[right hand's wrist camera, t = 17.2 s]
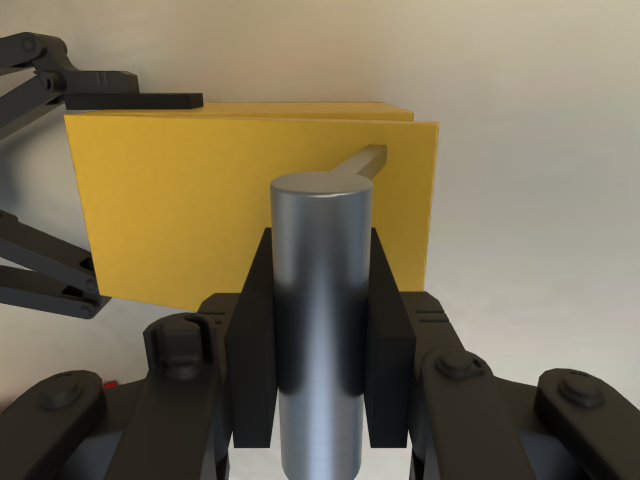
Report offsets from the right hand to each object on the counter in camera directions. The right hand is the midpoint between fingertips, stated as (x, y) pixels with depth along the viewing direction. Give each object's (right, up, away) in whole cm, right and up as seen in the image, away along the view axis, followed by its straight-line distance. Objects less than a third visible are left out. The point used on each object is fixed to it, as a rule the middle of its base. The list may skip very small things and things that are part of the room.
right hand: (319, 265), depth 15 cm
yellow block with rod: (-3, +2, +5) cm, 6 cm away
